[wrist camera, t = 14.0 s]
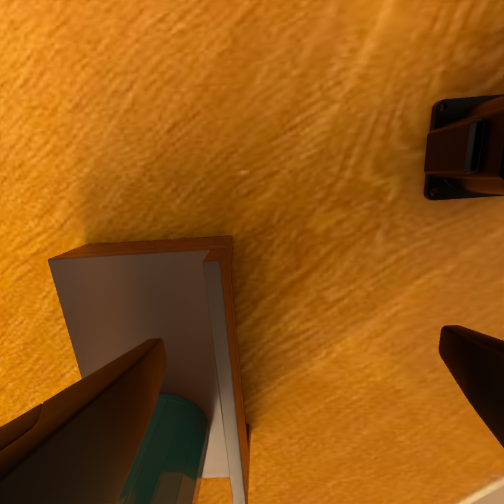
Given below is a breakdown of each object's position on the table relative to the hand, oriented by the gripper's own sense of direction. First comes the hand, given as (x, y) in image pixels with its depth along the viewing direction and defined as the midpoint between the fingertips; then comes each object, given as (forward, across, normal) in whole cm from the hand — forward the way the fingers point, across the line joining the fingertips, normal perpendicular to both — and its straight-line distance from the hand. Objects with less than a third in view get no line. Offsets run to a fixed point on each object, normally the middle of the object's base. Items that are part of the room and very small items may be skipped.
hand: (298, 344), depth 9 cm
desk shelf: (+13, +10, +9) cm, 18 cm away
